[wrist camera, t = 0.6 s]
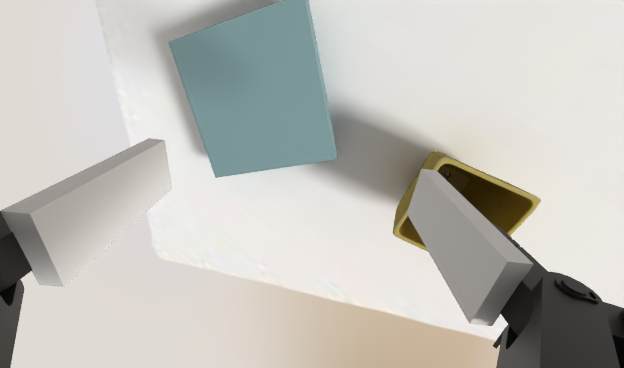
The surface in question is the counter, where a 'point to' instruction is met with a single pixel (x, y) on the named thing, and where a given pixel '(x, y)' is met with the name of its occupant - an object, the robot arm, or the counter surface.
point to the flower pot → (470, 198)
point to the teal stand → (258, 90)
